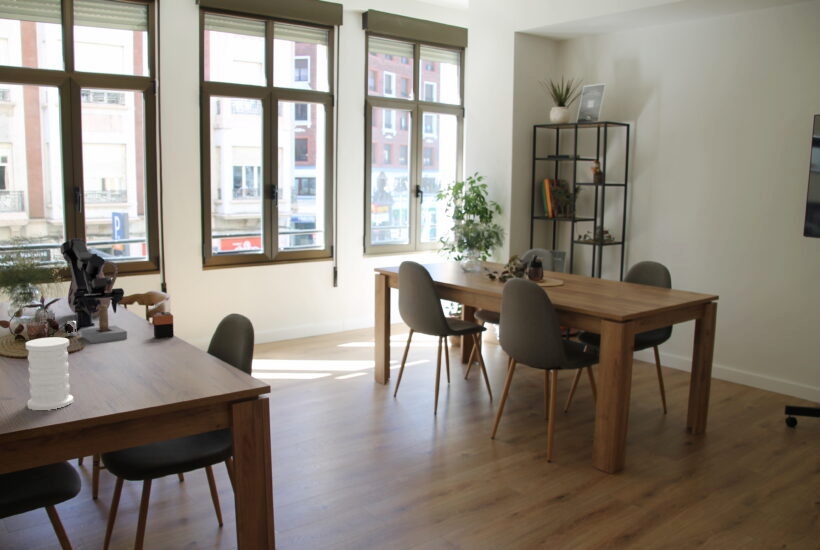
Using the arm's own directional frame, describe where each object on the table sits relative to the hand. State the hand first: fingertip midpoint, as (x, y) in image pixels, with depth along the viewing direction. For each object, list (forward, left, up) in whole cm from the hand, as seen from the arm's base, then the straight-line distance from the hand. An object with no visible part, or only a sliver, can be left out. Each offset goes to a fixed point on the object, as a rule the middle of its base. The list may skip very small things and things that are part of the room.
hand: (103, 313), depth 277 cm
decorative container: (+72, -38, -10) cm, 82 cm away
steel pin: (-10, -9, -10) cm, 16 cm away
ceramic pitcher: (-47, +11, -10) cm, 49 cm away
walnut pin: (0, 0, -10) cm, 10 cm away
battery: (+12, +19, -10) cm, 25 cm away
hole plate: (0, 0, -10) cm, 10 cm away
